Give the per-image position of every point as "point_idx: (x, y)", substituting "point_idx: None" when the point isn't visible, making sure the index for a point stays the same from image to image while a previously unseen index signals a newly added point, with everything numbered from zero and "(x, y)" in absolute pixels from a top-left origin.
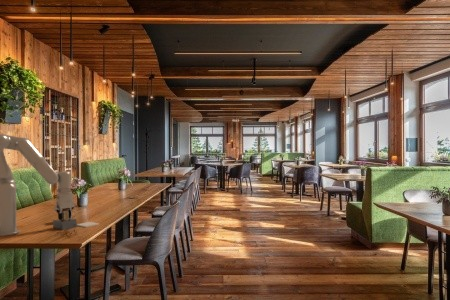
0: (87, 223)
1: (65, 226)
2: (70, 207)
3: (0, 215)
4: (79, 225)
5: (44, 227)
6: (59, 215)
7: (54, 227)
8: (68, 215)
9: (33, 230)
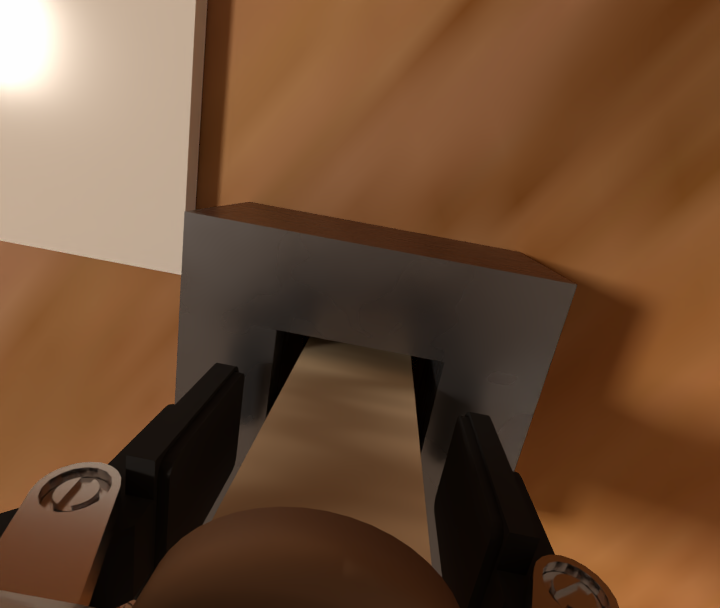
0: (25, 145)
1: (469, 249)
2: (38, 599)
3: None
4: (190, 186)
5: None
6: (540, 527)
7: None
8: (276, 407)
9: (652, 600)
